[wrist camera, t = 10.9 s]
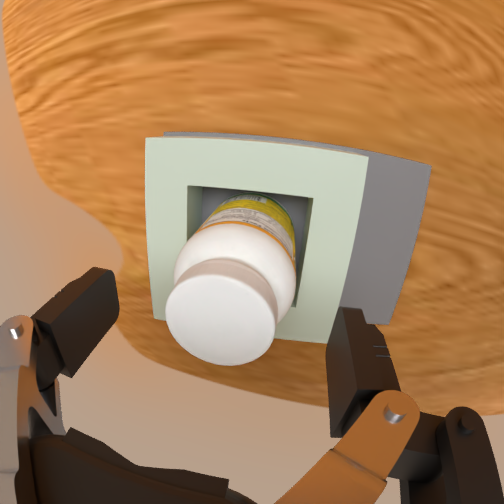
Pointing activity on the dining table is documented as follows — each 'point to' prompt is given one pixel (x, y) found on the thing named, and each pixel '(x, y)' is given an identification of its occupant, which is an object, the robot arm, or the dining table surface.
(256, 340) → the supplement bottle
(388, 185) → the socket board
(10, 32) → the dining table surface
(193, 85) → the dining table surface
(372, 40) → the dining table surface
